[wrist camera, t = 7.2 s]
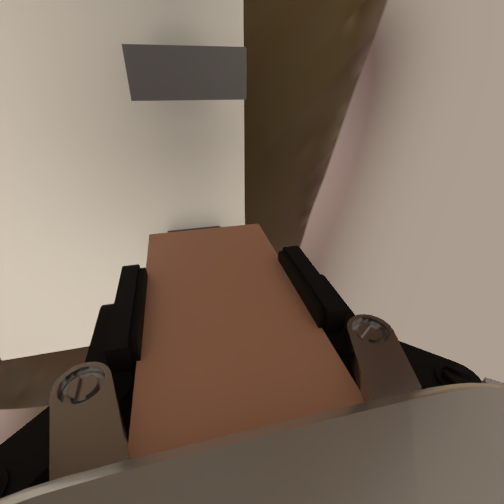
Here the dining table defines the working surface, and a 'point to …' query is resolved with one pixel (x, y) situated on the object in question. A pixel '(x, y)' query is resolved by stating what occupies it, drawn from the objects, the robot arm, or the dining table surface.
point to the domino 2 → (226, 343)
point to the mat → (101, 157)
